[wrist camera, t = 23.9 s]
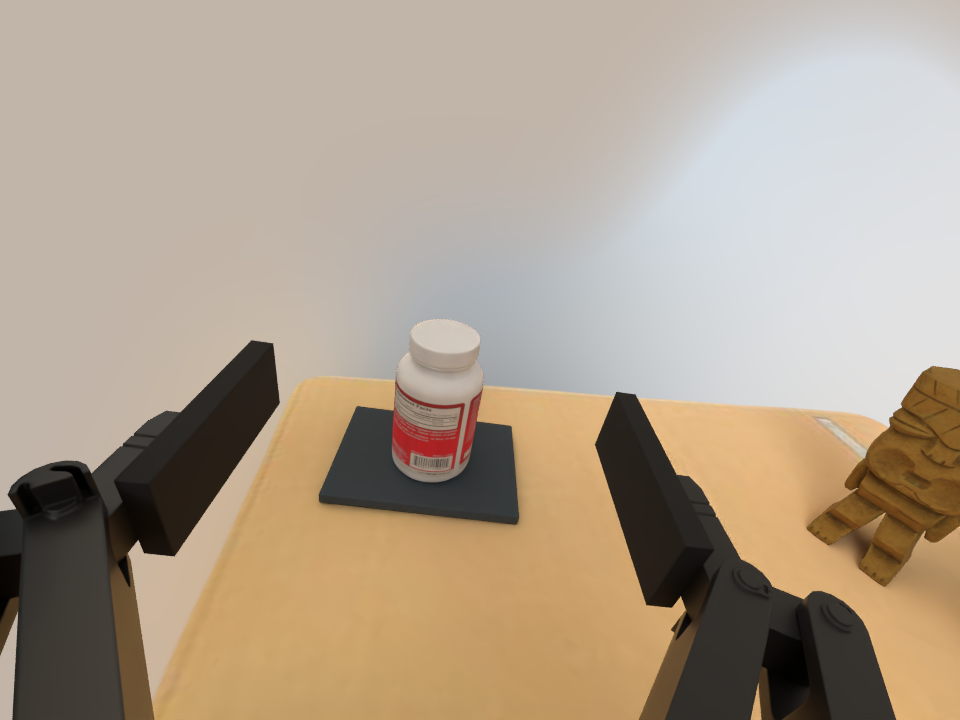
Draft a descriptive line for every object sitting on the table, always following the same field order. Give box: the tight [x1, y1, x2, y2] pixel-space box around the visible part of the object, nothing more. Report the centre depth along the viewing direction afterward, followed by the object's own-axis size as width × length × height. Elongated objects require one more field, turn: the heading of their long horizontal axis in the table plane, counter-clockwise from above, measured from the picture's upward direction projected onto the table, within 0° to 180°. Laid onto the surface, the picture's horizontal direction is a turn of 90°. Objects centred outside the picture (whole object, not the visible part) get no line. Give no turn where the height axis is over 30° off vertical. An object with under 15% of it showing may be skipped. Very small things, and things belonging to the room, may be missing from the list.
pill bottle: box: [392, 319, 484, 482], centre depth 31 cm, size 6×6×11 cm
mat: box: [319, 406, 519, 524], centre depth 34 cm, size 14×10×1 cm
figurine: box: [807, 366, 960, 586], centre depth 30 cm, size 7×7×15 cm
